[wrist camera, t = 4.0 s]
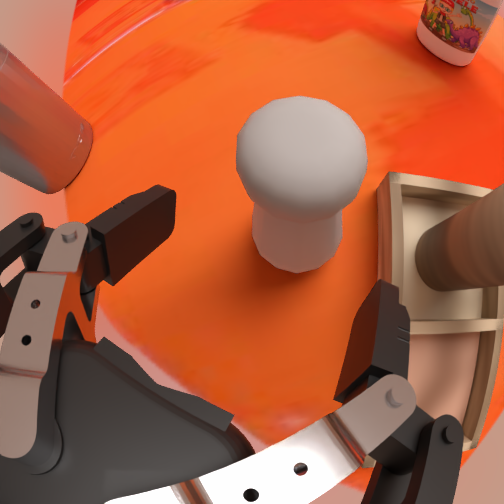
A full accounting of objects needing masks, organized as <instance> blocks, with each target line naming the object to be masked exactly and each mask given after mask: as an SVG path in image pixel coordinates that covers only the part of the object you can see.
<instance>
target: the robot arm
mask: <svg viewBox="0 0 504 504" xmlns="http://www.w3.org/2000/svg"><path fill="white" fill-rule="evenodd" d="M92 137H93V133H92V128H91V126H90V124H89V123H88V122H87V121H86V120H85V119H84V118H82V117H81V116H80V115H79V114H78V113H77V112H76V111H75V110H74V109H73V108H71V107H70V106H69V105H68V104H67V103H66V102H65V101H64V100H63V99H62V98H61V97H60V96H58V95H57V94H56V93H55V92H54V91H53V90H52V89H51V88H49V87H48V86H47V85H46V84H45V83H44V82H43V81H42V80H41V79H40V78H38V77H37V76H36V75H35V74H34V73H33V72H32V71H31V70H30V69H29V68H27V67H26V66H25V65H24V64H23V63H22V62H21V61H20V60H19V59H17V57H15V56H14V55H13V54H12V53H11V52H10V51H9V50H7V48H5V47H4V46H3V45H2V44H1V43H0V171H1V172H3V173H4V174H6V175H8V176H10V177H12V178H14V179H17V180H19V181H20V182H22V183H24V184H26V185H28V186H30V187H33V188H35V189H37V190H39V191H41V192H43V193H46V194H53V193H56V192H58V191H60V190H62V189H63V188H65V187H66V186H67V185H68V184H69V183H70V182H71V181H72V180H73V179H74V178H75V176H76V175H77V174H78V173H79V171H80V170H81V168H82V167H83V165H84V163H85V161H86V159H87V157H88V154H89V151H90V149H91V144H92ZM175 209H176V192H175V191H174V190H171V189H169V188H166V187H164V186H161V185H155V186H153V187H151V188H150V189H148V190H146V191H145V192H141V193H137V194H134V195H131V196H129V197H127V198H126V199H124V200H122V201H121V203H118V204H116V205H114V206H113V208H112V207H111V208H110V209H108V210H106V211H105V212H103V213H102V214H100V215H99V216H97V217H96V218H94V219H93V220H91V221H90V222H88V223H87V224H85V225H84V224H83V223H80V222H69V223H65V224H63V225H61V226H59V227H58V228H56V229H53V228H49V227H45V226H44V222H43V218H42V216H41V215H40V214H38V213H28V214H25V215H23V216H21V217H19V218H18V219H16V220H15V221H14V222H12V223H11V224H9V225H8V226H7V227H5V228H4V229H3V230H1V231H0V275H1V273H2V272H3V270H4V269H5V268H7V267H8V266H9V265H10V264H11V263H12V262H14V261H15V260H16V259H17V258H18V257H19V256H21V258H22V261H23V263H24V266H25V268H24V269H23V270H22V271H21V272H20V273H19V274H18V275H17V276H15V277H14V278H13V279H12V280H11V281H10V282H9V283H8V284H7V285H6V286H5V287H2V286H1V283H0V338H1V336H2V335H3V334H4V333H5V335H4V339H3V343H2V347H1V352H0V504H307V503H309V502H311V501H312V500H314V499H315V498H317V497H318V496H320V495H322V494H323V493H325V492H326V491H327V490H329V489H331V488H332V487H333V486H335V485H336V484H338V483H339V482H340V481H342V480H343V479H345V478H346V477H347V476H349V475H350V474H351V473H353V472H354V471H355V470H356V469H358V468H359V467H360V466H361V465H362V464H363V463H364V461H365V460H364V458H365V457H366V456H367V455H369V456H370V457H371V458H373V459H374V460H376V463H375V466H374V469H373V472H372V475H371V478H370V481H369V484H368V486H367V489H366V492H365V494H364V497H363V500H362V502H361V504H452V503H453V499H454V495H455V490H456V486H457V481H458V476H459V470H460V464H461V457H462V450H463V442H464V433H463V429H462V426H461V424H460V422H459V421H458V420H457V419H456V418H455V417H454V416H452V415H449V414H445V415H442V416H440V417H438V418H436V419H434V418H433V417H431V416H430V415H429V414H427V413H426V412H425V411H423V410H422V409H421V408H420V407H418V406H417V405H416V394H415V391H414V389H413V387H412V385H411V384H410V383H409V382H408V368H409V352H410V344H409V342H410V317H409V314H408V312H407V309H406V306H404V305H401V304H399V287H397V286H395V285H393V284H391V283H388V282H386V281H384V280H382V279H379V280H378V281H377V282H376V284H375V285H374V287H373V288H372V290H371V291H370V293H369V294H368V296H367V297H366V299H365V300H364V302H363V303H362V305H361V306H360V308H359V310H358V311H357V314H356V316H355V318H354V321H353V325H352V329H351V334H350V338H349V342H348V347H347V351H346V355H345V359H344V363H343V367H342V370H341V374H340V378H339V381H338V385H337V389H336V392H335V395H334V399H333V400H335V401H338V402H341V403H343V404H342V407H341V408H339V409H338V410H336V411H335V412H333V413H330V414H328V415H326V416H325V417H323V418H321V419H320V420H318V421H316V422H315V423H313V424H311V425H310V426H308V427H306V428H305V429H303V430H301V431H299V432H297V433H296V434H294V435H292V436H290V437H288V438H286V439H285V440H283V441H281V442H279V443H277V444H275V445H273V446H271V447H269V448H267V449H265V450H263V451H261V452H259V453H257V454H256V453H255V451H254V449H253V447H252V446H251V444H250V442H249V441H248V440H247V438H246V437H245V436H244V435H243V434H242V433H241V432H240V431H239V429H238V428H236V427H235V426H234V425H233V424H232V423H230V422H231V420H232V418H233V417H234V415H233V414H231V413H229V412H227V411H225V410H223V409H221V408H219V407H217V406H215V405H213V404H211V403H209V402H207V401H205V400H203V399H201V398H200V397H197V396H194V395H190V394H187V393H183V392H180V391H176V390H173V389H170V388H167V387H164V386H161V385H159V384H157V383H156V382H154V381H153V380H152V378H150V376H148V374H147V373H146V372H145V371H144V370H143V369H142V368H141V367H140V365H139V364H138V363H137V362H136V361H135V360H134V359H133V358H132V356H131V355H129V354H128V353H126V352H125V351H123V350H122V349H121V348H119V347H118V346H116V345H115V344H113V343H112V342H111V341H109V340H108V339H107V338H105V337H103V338H102V339H101V341H99V343H96V338H95V320H96V312H97V305H98V298H99V291H100V286H99V283H100V282H101V281H102V280H104V281H106V282H107V283H109V284H110V285H112V286H114V285H115V284H116V283H117V282H119V281H120V280H121V279H122V278H123V277H124V276H125V275H126V274H127V273H128V272H130V271H131V270H132V269H133V268H134V267H135V266H136V265H137V264H139V263H140V262H141V261H142V260H143V259H144V258H145V257H147V256H148V255H149V254H150V253H151V252H152V251H154V250H155V249H156V248H157V247H158V246H159V245H161V244H162V243H163V242H164V241H165V240H167V239H168V238H169V236H170V235H171V233H172V231H173V229H174V225H175Z"/></svg>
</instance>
